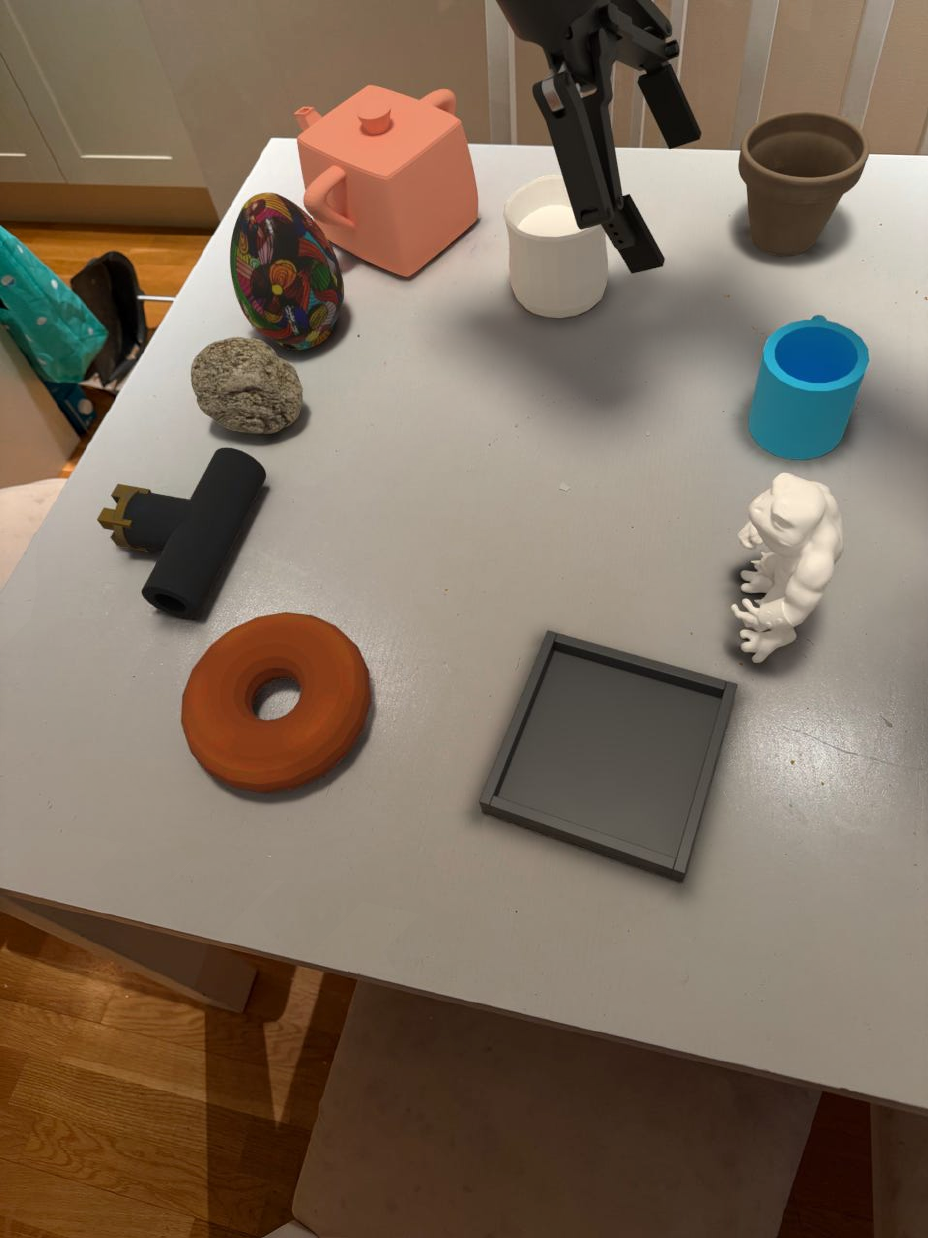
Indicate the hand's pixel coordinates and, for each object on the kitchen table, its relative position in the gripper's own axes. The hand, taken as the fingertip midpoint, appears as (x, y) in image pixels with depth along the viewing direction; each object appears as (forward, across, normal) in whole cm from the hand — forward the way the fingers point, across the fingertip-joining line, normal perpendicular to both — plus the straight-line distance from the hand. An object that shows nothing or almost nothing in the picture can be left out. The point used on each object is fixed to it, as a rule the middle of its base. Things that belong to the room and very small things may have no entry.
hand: (667, 202), depth 72 cm
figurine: (+17, +29, +8) cm, 34 cm away
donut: (0, +46, -22) cm, 51 cm away
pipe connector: (-5, +34, -37) cm, 50 cm away
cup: (+10, -5, -18) cm, 21 cm away
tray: (+11, +43, +1) cm, 44 cm away
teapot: (+1, -12, -38) cm, 40 cm away
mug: (+20, +7, +6) cm, 22 cm away
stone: (-3, +19, -37) cm, 42 cm away
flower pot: (+21, -16, 0) cm, 26 cm away
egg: (-2, +6, -39) cm, 40 cm away
